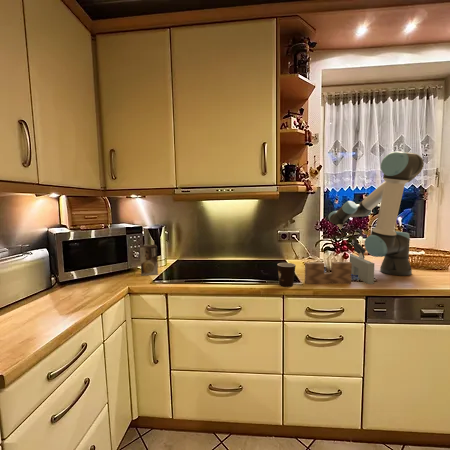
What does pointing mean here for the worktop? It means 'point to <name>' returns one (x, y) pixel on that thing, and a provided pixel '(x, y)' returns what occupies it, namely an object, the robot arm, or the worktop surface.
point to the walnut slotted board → (317, 275)
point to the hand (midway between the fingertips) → (351, 263)
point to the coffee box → (148, 260)
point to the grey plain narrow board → (362, 269)
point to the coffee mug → (286, 274)
